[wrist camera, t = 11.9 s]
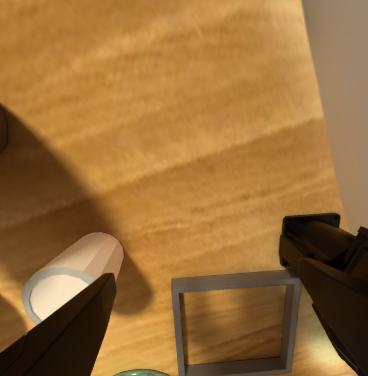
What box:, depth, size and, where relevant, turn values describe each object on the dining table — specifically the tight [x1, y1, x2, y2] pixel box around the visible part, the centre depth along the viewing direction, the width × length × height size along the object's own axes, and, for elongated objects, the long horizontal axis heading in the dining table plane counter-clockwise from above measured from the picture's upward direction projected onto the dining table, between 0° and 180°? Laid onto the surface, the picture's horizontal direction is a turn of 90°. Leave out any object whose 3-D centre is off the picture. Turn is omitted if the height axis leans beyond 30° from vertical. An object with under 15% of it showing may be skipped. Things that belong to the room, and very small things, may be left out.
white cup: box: [21, 232, 124, 325], centre depth 18 cm, size 7×7×7 cm
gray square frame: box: [171, 269, 302, 376], centre depth 24 cm, size 16×16×2 cm
